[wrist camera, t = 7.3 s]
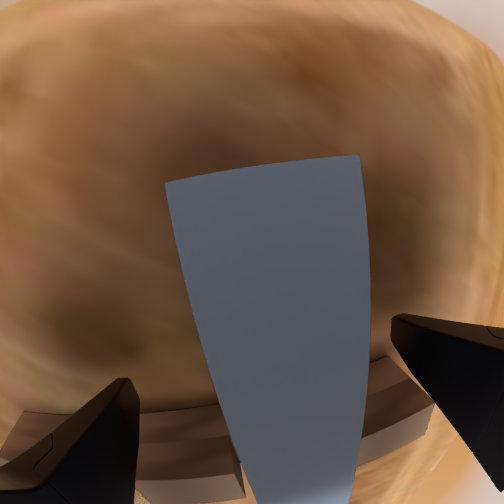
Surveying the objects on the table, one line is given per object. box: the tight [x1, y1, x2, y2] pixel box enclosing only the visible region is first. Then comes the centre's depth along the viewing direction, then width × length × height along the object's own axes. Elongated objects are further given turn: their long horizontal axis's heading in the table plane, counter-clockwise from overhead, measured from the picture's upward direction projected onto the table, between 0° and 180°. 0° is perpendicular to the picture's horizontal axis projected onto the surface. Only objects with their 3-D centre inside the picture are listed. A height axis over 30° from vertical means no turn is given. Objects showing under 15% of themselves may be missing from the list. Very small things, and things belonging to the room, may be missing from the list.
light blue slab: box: [164, 154, 371, 504], centre depth 8 cm, size 14×2×6 cm, turn 9°
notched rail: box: [0, 356, 435, 504], centre depth 10 cm, size 20×2×4 cm, turn 100°
